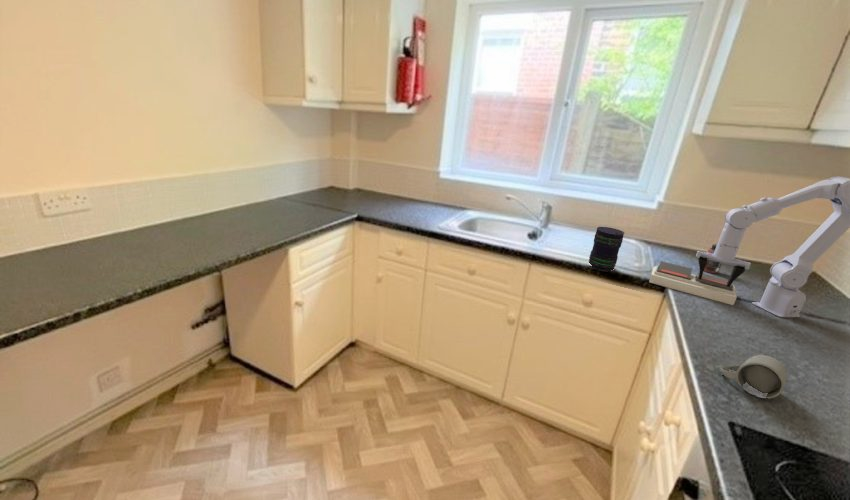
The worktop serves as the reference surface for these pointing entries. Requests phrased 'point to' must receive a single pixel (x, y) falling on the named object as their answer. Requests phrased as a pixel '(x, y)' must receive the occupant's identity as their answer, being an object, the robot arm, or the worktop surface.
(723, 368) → the ceramic mug
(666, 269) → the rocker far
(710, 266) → the supplement bottle
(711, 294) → the rocker switch panel
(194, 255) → the worktop surface
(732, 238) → the robot arm
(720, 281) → the rocker near
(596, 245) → the storage jar
